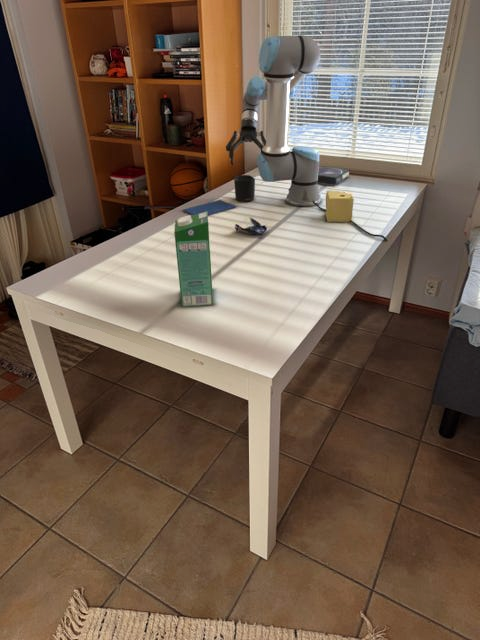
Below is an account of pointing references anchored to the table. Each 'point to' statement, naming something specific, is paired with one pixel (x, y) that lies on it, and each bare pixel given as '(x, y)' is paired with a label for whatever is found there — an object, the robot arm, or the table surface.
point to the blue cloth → (210, 208)
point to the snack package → (252, 228)
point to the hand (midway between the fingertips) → (246, 163)
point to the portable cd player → (331, 175)
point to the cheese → (339, 206)
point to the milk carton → (194, 259)
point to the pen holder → (244, 188)
